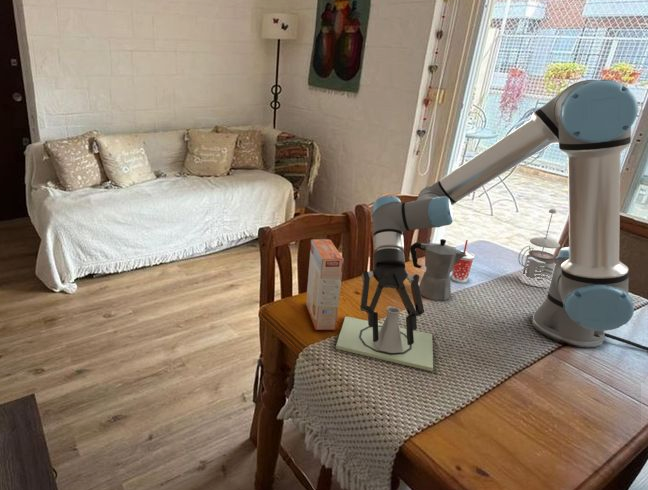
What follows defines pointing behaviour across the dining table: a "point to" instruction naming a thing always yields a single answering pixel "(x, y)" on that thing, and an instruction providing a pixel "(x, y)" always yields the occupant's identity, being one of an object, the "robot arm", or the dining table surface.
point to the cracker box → (324, 284)
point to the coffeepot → (436, 268)
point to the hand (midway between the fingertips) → (393, 342)
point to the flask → (390, 333)
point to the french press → (540, 256)
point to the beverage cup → (463, 267)
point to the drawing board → (360, 341)
